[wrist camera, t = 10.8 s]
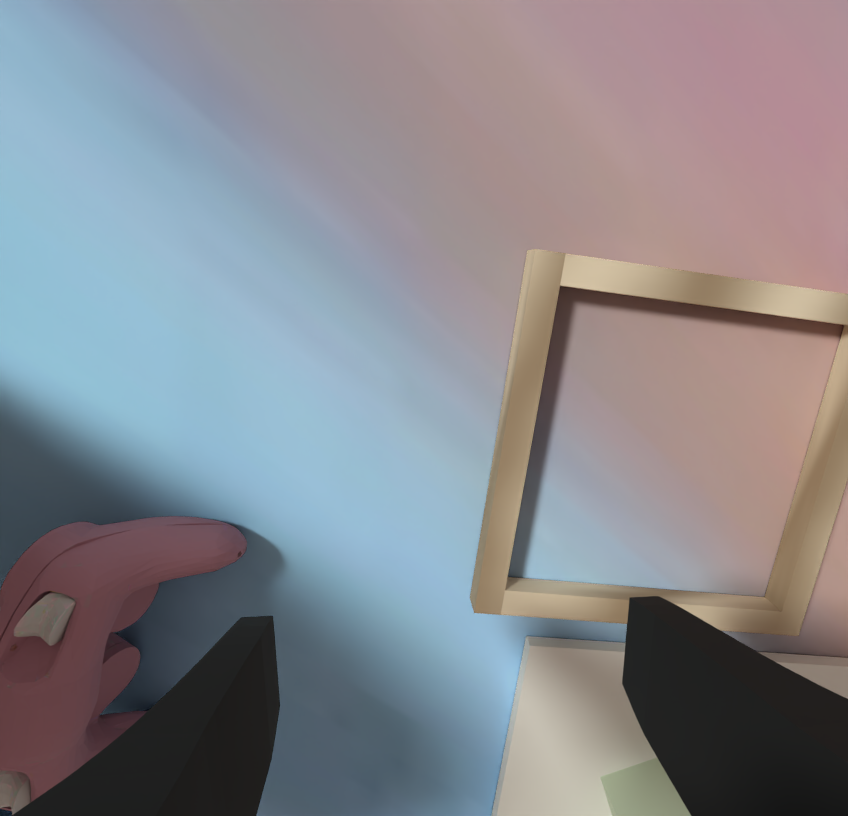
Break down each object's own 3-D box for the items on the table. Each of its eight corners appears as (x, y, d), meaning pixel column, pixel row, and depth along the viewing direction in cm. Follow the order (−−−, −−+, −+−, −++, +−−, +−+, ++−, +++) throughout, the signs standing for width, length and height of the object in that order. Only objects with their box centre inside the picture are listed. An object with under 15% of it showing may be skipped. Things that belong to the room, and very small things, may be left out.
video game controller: (169, 476, 21) (-40, 527, 15) (265, 527, 20) (80, 609, 13) (116, 692, 23) (-90, 823, 17) (200, 753, 22) (11, 922, 15)
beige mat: (847, 657, 24) (859, 667, 23) (760, 913, 27) (769, 927, 26) (526, 636, 22) (530, 645, 21) (473, 908, 25) (475, 924, 25)
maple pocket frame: (878, 300, 20) (903, 302, 19) (780, 620, 23) (798, 635, 22) (527, 250, 19) (535, 249, 18) (469, 597, 21) (474, 612, 21)
